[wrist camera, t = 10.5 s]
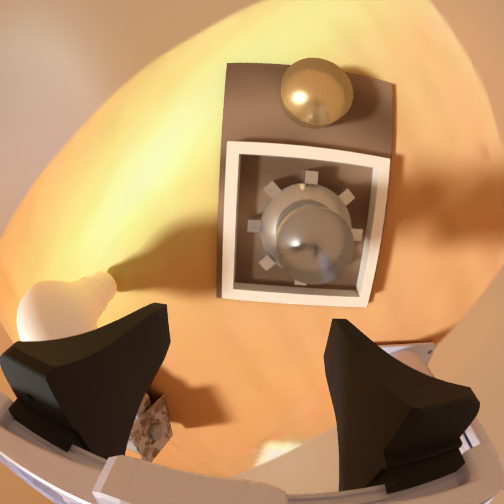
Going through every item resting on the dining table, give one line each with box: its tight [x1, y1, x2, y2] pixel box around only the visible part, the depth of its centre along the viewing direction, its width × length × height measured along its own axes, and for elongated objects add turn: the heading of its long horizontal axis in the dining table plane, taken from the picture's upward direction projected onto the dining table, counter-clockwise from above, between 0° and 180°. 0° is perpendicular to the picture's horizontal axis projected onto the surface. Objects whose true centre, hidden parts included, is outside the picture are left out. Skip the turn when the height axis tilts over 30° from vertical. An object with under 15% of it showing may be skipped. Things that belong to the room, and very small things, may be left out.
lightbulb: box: [16, 271, 117, 341], centre depth 17 cm, size 6×6×11 cm
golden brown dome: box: [280, 58, 353, 129], centre depth 15 cm, size 4×4×2 cm
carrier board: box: [217, 63, 393, 307], centre depth 18 cm, size 18×12×1 cm
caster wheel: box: [127, 393, 173, 462], centre depth 24 cm, size 7×11×10 cm
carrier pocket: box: [222, 141, 390, 307], centre depth 18 cm, size 11×11×1 cm
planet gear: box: [247, 170, 363, 285], centre depth 16 cm, size 8×8×6 cm
